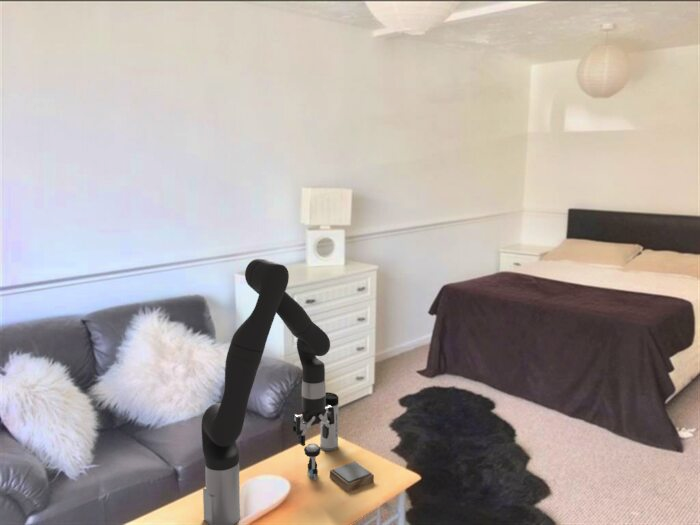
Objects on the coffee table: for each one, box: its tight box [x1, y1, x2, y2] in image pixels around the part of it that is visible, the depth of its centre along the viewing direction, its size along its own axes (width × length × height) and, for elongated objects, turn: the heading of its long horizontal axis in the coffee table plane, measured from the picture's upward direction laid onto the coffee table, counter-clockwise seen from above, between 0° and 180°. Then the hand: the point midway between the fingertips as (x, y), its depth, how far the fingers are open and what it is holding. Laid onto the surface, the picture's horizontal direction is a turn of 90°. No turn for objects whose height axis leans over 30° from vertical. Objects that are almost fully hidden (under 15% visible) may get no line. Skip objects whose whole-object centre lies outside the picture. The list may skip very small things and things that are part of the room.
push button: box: [303, 442, 322, 481], centre depth 181 cm, size 7×5×10 cm
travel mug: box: [319, 391, 340, 452], centre depth 200 cm, size 6×7×20 cm
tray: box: [329, 461, 375, 493], centre depth 180 cm, size 10×10×3 cm
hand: (313, 441), depth 180 cm, fingers open, 8 cm apart
